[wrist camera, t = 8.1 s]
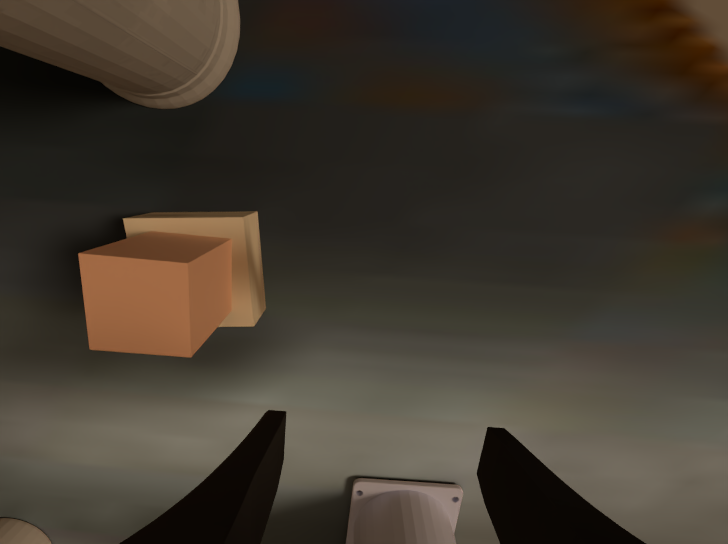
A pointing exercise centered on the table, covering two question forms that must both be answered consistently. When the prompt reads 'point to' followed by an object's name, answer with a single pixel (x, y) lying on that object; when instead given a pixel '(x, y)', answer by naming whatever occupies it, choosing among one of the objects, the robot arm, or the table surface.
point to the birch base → (244, 252)
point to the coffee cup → (20, 533)
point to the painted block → (156, 292)
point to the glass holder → (130, 43)
